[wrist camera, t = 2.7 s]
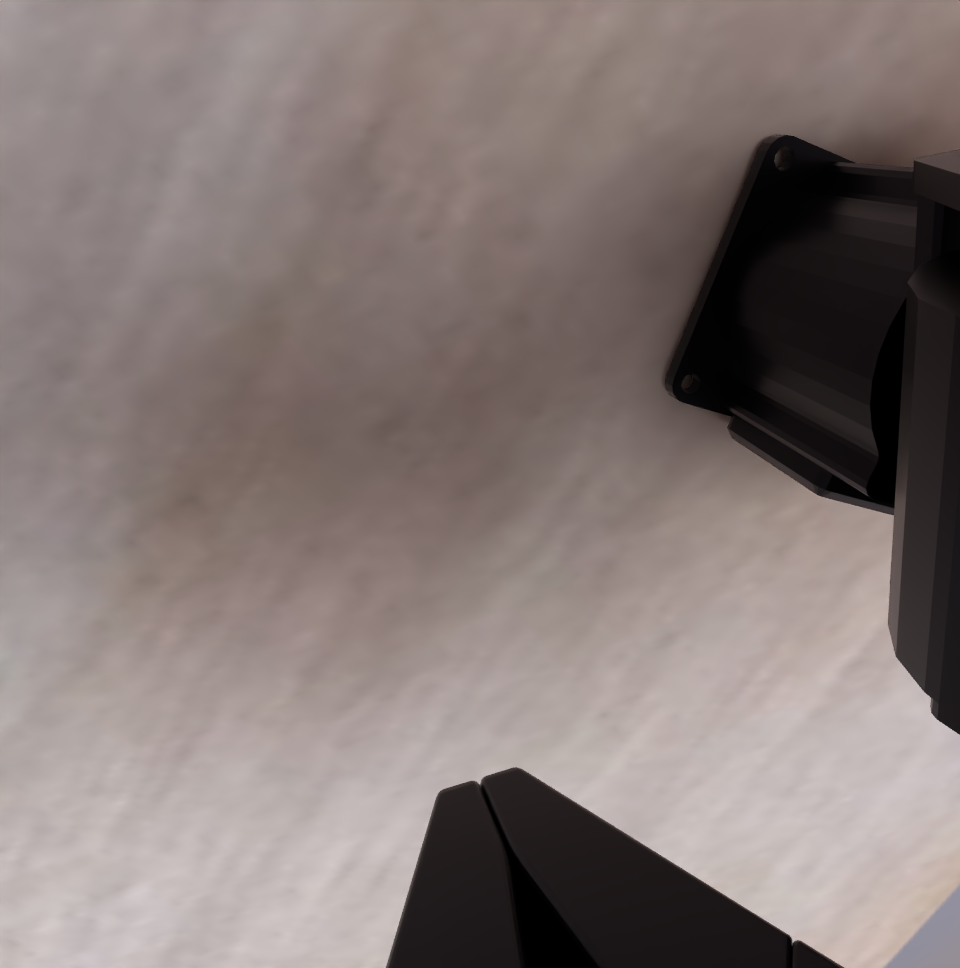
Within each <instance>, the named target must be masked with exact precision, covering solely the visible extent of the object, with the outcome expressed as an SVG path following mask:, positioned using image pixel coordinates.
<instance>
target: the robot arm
mask: <svg viewBox="0 0 960 968" xmlns="http://www.w3.org/2000/svg"><path fill="white" fill-rule="evenodd" d="M781 148H782V149H783V150H784V153H785V159H784V162H783V164H782V165H781V167H779V168H777V167H776V166H775V162H774V160H775V155H776V153H777V152H778V150H779V149H781ZM689 374H692V376H693V380H692V383H691V384H690V386H689V387H687V388H685V389H682V388H681V384H682V380H683V379H684V378H685V376H687V375H689ZM665 384H666V389H667V391H668V392H669V394H670V395H671V396H673V397H674V398H676V399H677V400H679V401H681V402H683V403H686V404H690V405H693V406H696V407H700V408H703V409H707V410H710V411H714V412H717V413H721V414H724V415H728V416H731V417H732V418H731V420H730V423H729V425H728V427H727V428H728V430H729V432H730V435H731V437H732V438H733V439H734V440H736V441H737V442H739V443H740V444H742V445H743V446H745V447H746V448H748V449H749V450H751V451H752V452H754V453H755V454H757V455H758V456H760V457H761V458H763V459H764V460H766V461H767V462H769V463H770V464H772V465H773V466H775V467H776V468H778V469H779V470H781V471H782V472H784V473H785V474H787V475H788V476H790V477H791V478H793V479H794V480H796V481H797V482H799V483H800V484H802V485H803V486H805V487H806V488H808V489H809V490H811V491H812V492H814V493H815V494H817V495H819V496H822V497H825V498H829V499H833V500H837V501H841V502H844V503H848V504H852V505H856V506H860V507H864V508H867V509H871V510H875V511H879V512H883V513H887V514H890V515H894V526H893V544H892V561H891V574H890V596H889V613H888V626H889V630H890V634H891V639H892V643H893V647H894V651H895V655H896V657H897V658H898V660H899V661H900V662H901V663H902V665H903V666H904V667H905V668H906V670H907V671H908V672H909V673H910V675H911V676H912V677H913V678H914V680H915V681H916V682H917V683H918V685H919V686H920V687H921V688H922V690H923V691H924V692H925V693H926V694H927V695H929V696H930V697H931V706H930V707H931V713H932V714H933V715H934V716H935V718H936V719H937V720H939V721H940V722H942V723H943V724H945V725H946V726H948V727H949V728H951V729H952V730H954V731H955V732H957V733H958V734H960V149H959V150H955V151H950V152H945V153H940V154H935V155H930V156H925V157H921V158H917V159H915V160H914V168H910V167H897V166H884V165H871V164H858V163H854V162H852V161H850V160H847V159H845V158H843V157H840V156H838V155H836V154H834V153H831V152H829V151H827V150H824V149H822V148H820V147H817V146H815V145H813V144H810V143H808V142H806V141H804V140H801V139H799V138H797V137H794V136H789V135H774V136H771V137H769V138H767V139H766V140H765V141H764V142H763V143H762V144H761V146H760V147H759V149H758V151H757V153H756V156H755V158H754V161H753V163H752V166H751V168H750V171H749V173H748V175H747V178H746V180H745V183H744V185H743V188H742V190H741V193H740V195H739V198H738V200H737V203H736V205H735V207H734V210H733V212H732V215H731V217H730V220H729V222H728V225H727V227H726V230H725V232H724V235H723V237H722V240H721V242H720V244H719V247H718V249H717V252H716V254H715V257H714V259H713V262H712V264H711V267H710V269H709V272H708V274H707V276H706V279H705V281H704V284H703V286H702V289H701V291H700V294H699V296H698V299H697V301H696V304H695V306H694V308H693V311H692V313H691V316H690V318H689V321H688V323H687V326H686V328H685V331H684V333H683V336H682V338H681V341H680V343H679V345H678V348H677V350H676V353H675V355H674V358H673V360H672V363H671V365H670V368H669V370H668V373H667V375H666V380H665ZM480 786H481V787H480ZM386 968H844V967H842V966H841V965H839V964H837V963H836V962H834V961H832V960H831V959H829V958H828V957H826V956H824V955H823V954H821V953H819V952H818V951H816V950H815V949H813V948H811V947H810V946H808V945H807V944H805V943H803V942H802V941H799V940H797V941H795V942H794V943H793V942H792V938H791V937H790V936H789V935H788V934H786V933H785V932H783V931H781V930H780V929H778V928H777V927H775V926H773V925H772V924H770V923H769V922H767V921H765V920H764V919H762V918H761V917H759V916H757V915H756V914H754V913H752V912H751V911H749V910H748V909H746V908H744V907H743V906H741V905H740V904H738V903H736V902H735V901H733V900H732V899H730V898H728V897H727V896H725V895H724V894H722V893H720V892H719V891H717V890H715V889H714V888H712V887H711V886H709V885H707V884H706V883H704V882H703V881H701V880H699V879H698V878H696V877H695V876H693V875H691V874H690V873H688V872H687V871H685V870H683V869H682V868H680V867H679V866H677V865H675V864H674V863H672V862H670V861H669V860H667V859H666V858H664V857H662V856H661V855H659V854H658V853H656V852H654V851H653V850H651V849H650V848H648V847H646V846H645V845H643V844H642V843H640V842H638V841H637V840H635V839H634V838H632V837H630V836H629V835H627V834H625V833H624V832H622V831H621V830H619V829H617V828H616V827H614V826H613V825H611V824H609V823H608V822H606V821H605V820H603V819H601V818H600V817H598V816H597V815H595V814H593V813H592V812H590V811H588V810H587V809H585V808H584V807H582V806H580V805H579V804H577V803H576V802H574V801H572V800H571V799H569V798H568V797H566V796H564V795H563V794H561V793H560V792H558V791H556V790H555V789H553V788H552V787H550V786H548V785H547V784H545V783H543V782H542V781H540V780H539V779H537V778H535V777H534V776H532V775H531V774H529V773H527V772H526V771H524V770H523V769H520V768H517V767H515V768H510V769H507V770H504V771H501V772H498V773H494V774H491V775H488V776H485V777H484V778H483V779H482V780H481V783H480V785H479V784H478V783H477V782H476V781H469V782H466V783H462V784H459V785H456V786H453V787H449V788H446V789H443V790H441V791H440V792H439V793H438V795H437V798H436V800H435V804H434V807H433V811H432V814H431V817H430V821H429V824H428V827H427V831H426V834H425V838H424V841H423V844H422V848H421V851H420V854H419V858H418V861H417V865H416V868H415V871H414V875H413V878H412V881H411V885H410V888H409V892H408V895H407V898H406V902H405V905H404V909H403V912H402V915H401V919H400V922H399V925H398V929H397V932H396V936H395V939H394V942H393V946H392V949H391V952H390V956H389V959H388V963H387V966H386Z"/></svg>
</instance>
